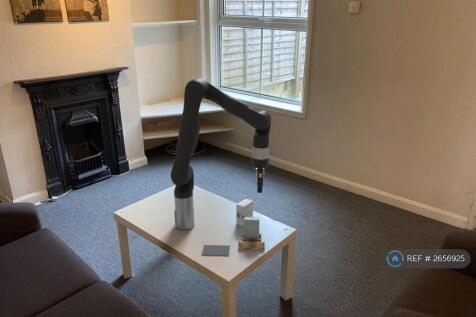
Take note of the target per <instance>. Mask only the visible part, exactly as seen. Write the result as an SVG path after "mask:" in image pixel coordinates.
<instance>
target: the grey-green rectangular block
mask: <svg viewBox="0 0 476 317" xmlns="http://www.w3.org/2000/svg"><path fill="white" fill-rule="evenodd" d="M243 233H244V238H259V233H260V217H257V216H253V217H244V227H243Z"/></svg>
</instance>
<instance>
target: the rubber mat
mask: <svg viewBox="0 0 476 317" xmlns="http://www.w3.org/2000/svg"><path fill="white" fill-rule="evenodd" d="M230 246H231V245H226V244H225V245H224V244H223V245H222V244H219V245H218V244H204V245H203V249H202V252H201V256H208V257H209V256H210V257H212V256H214V257H230V254H229V253H230V249H231V248H230Z"/></svg>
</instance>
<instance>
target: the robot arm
mask: <svg viewBox="0 0 476 317" xmlns="http://www.w3.org/2000/svg"><path fill="white" fill-rule="evenodd" d="M183 94H184V95H183V109H182V115H181V120H180V123H179V124H180V125H179V130H178V135H177V142H176V147H175V148H176V149H175V156H174V160H173V164H172V168H171V170H170V179H171V182H172V183H173V184H174V185H175V186H174V190H173V197H174V198H173V200H174V210H173V213H174V225H175V227H174V228H175V229H178V230H182V231H187V230H191V229H193V228H194V227H195V208H194V206H195V205H194V189H195V174H194V169H193V167H192V165H191V159H192V156H193V155H194V152H195V150H196V147H197V145H198V142H199V135H200V130H201V126H200V124H201V123H200V117H199V116H200V115H199V114H200V110H201V109H200V108H201V105H202V101H203V99H204V100H207V101H211V102H212V103H215V104H216V105H218V106H220V107H221V108H222V109H223V110H224V111H226V113H229V114H230V115H232V116H234V117H236V118H238V119H240V120H242V121H244V122H245V123H246V124H248V125H250V126H251V127H253V128H254V129H255V130H254V134H253V140H252V152H251V153H252V154H251V165H252V167H254V168H255V180H256V186H257V189H256V190H257V193H258V194H261V193H263V186H264V180H265V172H266V171H265V169H266V168H268V166H270V164H269V163H270V148H269V147H270V146H269V145H270V132H271V131H270V130H271V125H272V116H271V114H270V113H269V111H267V110H260V111H256V110H255V109H253V108H252V106H251V105H250V104H248V103H246V102H244V101H242V100H240V99H238V98H235V97H233V96H232V95H230V94H228V93H226V92H224V91H222V90H220V89H219V88H217V87H216V86H214V85H213V84H212V83H210V81H209V82H208V81H207V80H206V79H204V78H202V77H196V78H193V79H191V80H189V81H188V82H187V83H186V85H185V88H184V93H183Z"/></svg>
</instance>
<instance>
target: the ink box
mask: <svg viewBox="0 0 476 317" xmlns="http://www.w3.org/2000/svg"><path fill="white" fill-rule="evenodd" d="M235 212H236V214H235V216H236V217H235V219H236V220H235V222H236V223H235V225H237V226H240V227H242V228H244V217H254V201H253V200H252V199H248V198H244V199H243V200H241V201H240V202H238V203H236V211H235Z"/></svg>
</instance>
